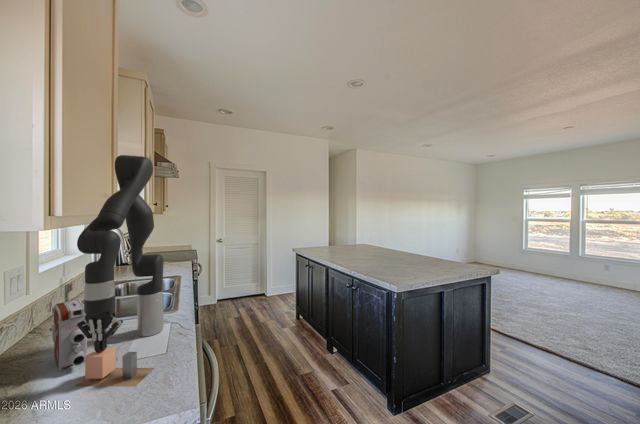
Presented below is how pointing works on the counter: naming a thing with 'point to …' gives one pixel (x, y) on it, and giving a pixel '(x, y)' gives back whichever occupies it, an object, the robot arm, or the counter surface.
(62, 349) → the cine camera
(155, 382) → the counter surface
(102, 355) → the peach foam brick
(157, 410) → the counter surface
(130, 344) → the counter surface
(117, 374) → the board
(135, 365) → the steel post
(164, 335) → the counter surface
